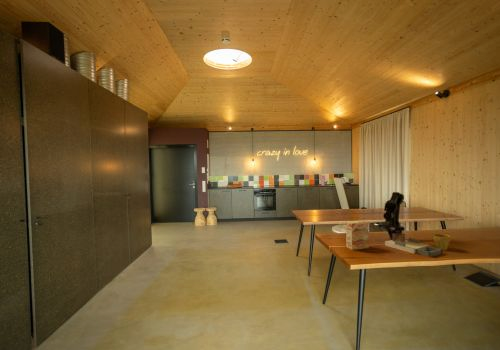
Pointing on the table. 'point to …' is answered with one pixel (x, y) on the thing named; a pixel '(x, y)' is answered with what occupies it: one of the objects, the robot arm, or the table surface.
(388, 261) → the table surface
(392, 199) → the robot arm
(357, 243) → the coffeecake box
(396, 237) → the walnut block
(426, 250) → the tunnel deck
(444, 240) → the plant pot
